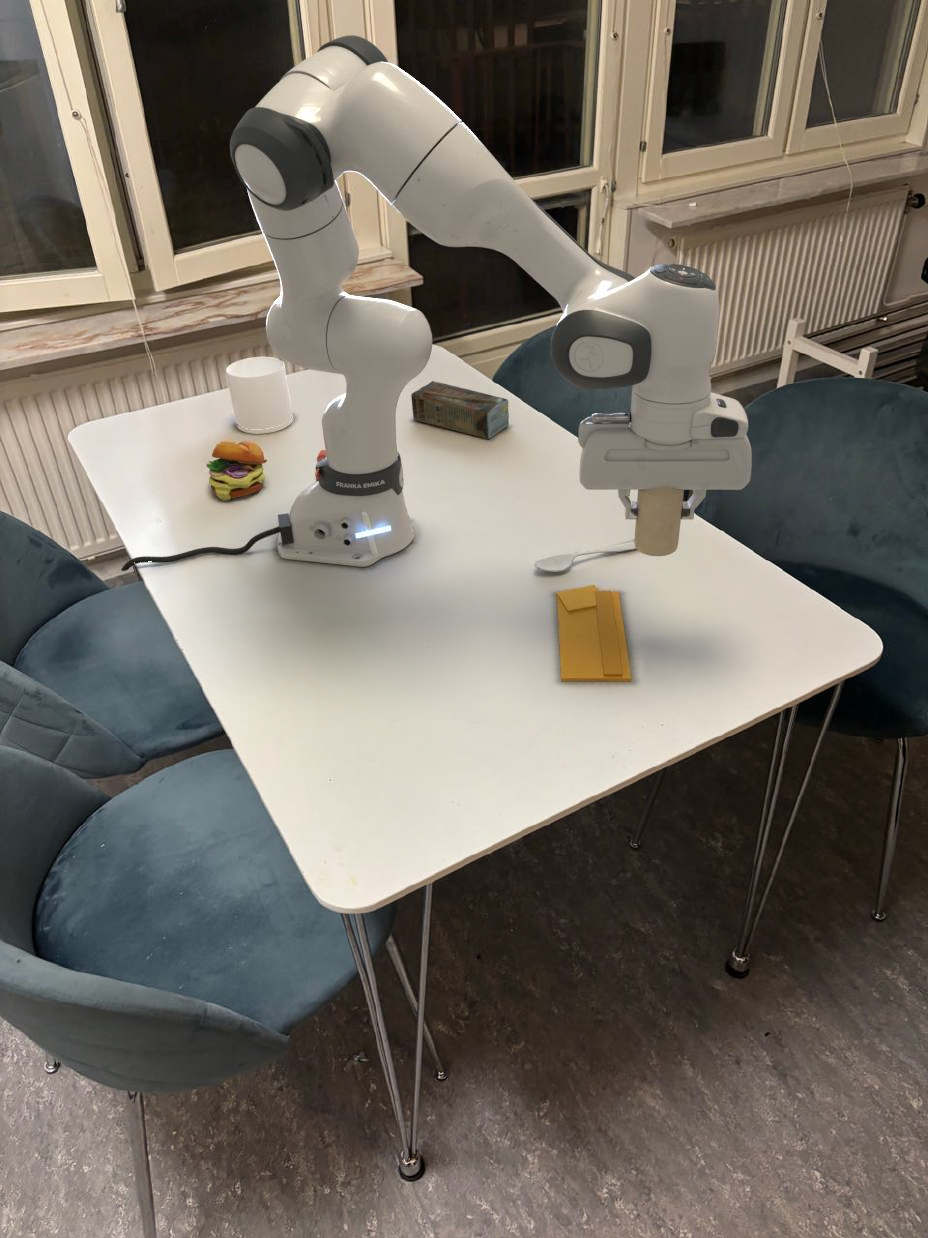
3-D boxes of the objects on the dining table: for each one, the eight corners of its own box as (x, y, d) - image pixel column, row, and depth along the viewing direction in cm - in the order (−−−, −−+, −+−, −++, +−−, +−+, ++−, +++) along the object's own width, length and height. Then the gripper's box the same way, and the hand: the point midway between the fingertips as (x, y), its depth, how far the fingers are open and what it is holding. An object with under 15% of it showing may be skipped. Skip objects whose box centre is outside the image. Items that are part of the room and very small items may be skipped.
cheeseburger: (196, 498, 163) (192, 442, 159) (231, 485, 172) (228, 432, 169) (244, 505, 160) (240, 449, 156) (277, 492, 169) (275, 438, 165)
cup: (239, 413, 194) (228, 358, 187) (294, 408, 195) (285, 354, 188) (234, 436, 185) (222, 379, 178) (291, 431, 186) (282, 374, 178)
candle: (677, 558, 113) (684, 487, 107) (632, 555, 114) (637, 484, 108) (678, 536, 117) (686, 466, 112) (635, 533, 119) (640, 463, 113)
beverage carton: (488, 441, 178) (487, 409, 174) (410, 421, 187) (408, 391, 183) (510, 426, 183) (509, 395, 179) (433, 408, 192) (431, 378, 188)
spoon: (528, 567, 140) (528, 558, 139) (643, 536, 146) (643, 527, 145) (540, 580, 137) (540, 571, 136) (657, 548, 143) (658, 539, 142)
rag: (560, 681, 118) (560, 675, 118) (555, 589, 135) (556, 584, 135) (631, 681, 117) (631, 676, 117) (617, 589, 135) (617, 584, 134)
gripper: (579, 424, 104) (575, 529, 112) (763, 423, 102) (745, 530, 110) (578, 403, 109) (574, 505, 117) (752, 401, 107) (737, 505, 115)
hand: (658, 517), depth 113 cm, fingers closed on candle, 5 cm apart
